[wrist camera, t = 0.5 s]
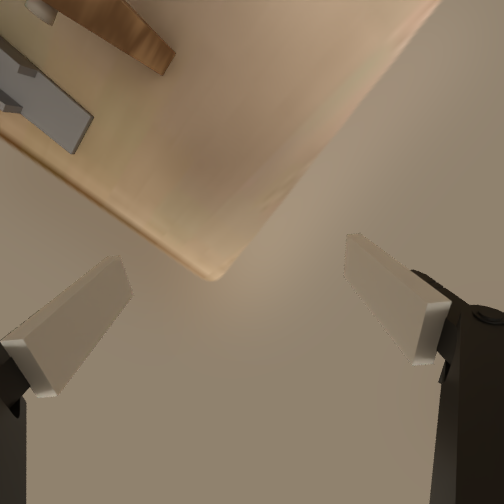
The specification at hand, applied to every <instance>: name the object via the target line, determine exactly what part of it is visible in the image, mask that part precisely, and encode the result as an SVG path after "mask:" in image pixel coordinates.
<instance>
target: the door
mask: <svg viewBox="0 0 504 504" xmlns="http://www.w3.org/2000/svg"><path fill="white" fill-rule="evenodd" d="M25 6H26V7H27V8H28V9H29V10H30V11H31V12H32V13H33V14H34V15H36V16H37V17H38V18H40V19H41V20H42V21H44V22H45V23H47V24H49V25H51V26H52V25H53V22H54V20H55V17H56V15H57V12H58V11H59V12H61V13H62V14H64V15H66V16H67V17H69V18H71V19H72V20H74V21H75V22H77V23H79V24H80V25H82V26H83V27H85V28H87V29H88V30H90V31H91V32H93V33H95V34H96V35H98V36H99V37H101V38H103V39H104V40H106V41H107V42H109V43H111V44H112V45H114V46H115V47H117V48H119V49H120V50H122V51H123V52H125V53H127V54H128V55H130V56H132V57H133V58H135V59H136V60H138V61H140V62H141V63H143V64H144V65H146V66H148V67H149V68H151V69H152V70H154V71H156V72H157V73H159V74H160V75H162V76H163V74H164V73H165V71H166V69H167V68H168V66H169V64H170V63H171V61H172V59H173V58H174V56H175V54H176V53H175V52H174V51H173V50H172V49H171V48H170V47H169V46H168V45H167V44H166V43H165V42H164V41H163V40H162V39H161V38H160V37H159V36H158V34H157V33H156V32H155V31H154V30H153V29H152V28H151V27H150V26H149V25H148V24H147V23H146V22H145V21H144V20H143V19H142V18H141V17H140V16H139V15H138V14H137V13H136V12H135V11H134V10H133V9H132V8H131V7H130V5H129V4H128V3H127V2H126V1H125V0H27V1H26V3H25Z"/></svg>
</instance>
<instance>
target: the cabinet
mask: <svg viewBox="0 0 504 504" xmlns="http://www.w3.org/2000/svg"><path fill="white" fill-rule="evenodd" d="M0 110H1V111H3V112H11V113H19V114H22V115H23V116H24V117H25V118H27V119H28V120H29V121H30V122H32V123H33V124H34V125H35V126H37V127H38V128H39V129H40V130H42V131H43V132H44V133H45V134H46V135H48V136H49V137H50V138H51V139H53V140H54V141H55V142H56V143H58V144H59V145H60V146H61V147H63V148H64V149H65V150H66V151H68V152H69V153H70V154H74V153H75V151H76V150H77V148H78V146H79V144H80V142H81V140H82V138H83V136H84V135H85V133H86V131H87V129H88V127H89V125H90V123H91V121H92V120H93V118H94V117H93V116H92V115H91V114H90V113H89V112H88V111H86V110H85V109H84V108H83V107H82V106H81V105H79V104H78V103H77V102H76V101H75V100H74V99H73V98H71V97H70V96H69V95H68V94H67V93H66V92H64V91H63V90H62V89H61V88H60V87H59V86H58V85H56V84H55V83H54V82H53V81H52V80H51V79H49V78H48V77H47V76H46V75H45V74H44V73H43V72H41V71H40V70H39V69H38V68H37V67H36V66H34V65H33V64H32V63H31V62H30V61H29V60H28V59H26V58H25V57H24V56H23V55H22V54H21V53H19V52H18V51H17V50H16V49H15V48H14V47H13V46H11V45H10V44H9V43H8V42H7V41H6V40H4V39H3V38H2V37H1V36H0Z"/></svg>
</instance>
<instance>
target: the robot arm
mask: <svg viewBox="0 0 504 504" xmlns="http://www.w3.org/2000/svg"><path fill="white" fill-rule="evenodd" d="M344 278H345V279H346V280H347V281H348V283H349V284H350V285H351V287H352V288H353V289H354V290H355V292H356V293H357V294H358V296H359V297H360V298H361V300H362V301H363V302H364V303H365V305H366V306H367V307H368V309H369V310H370V311H371V313H372V314H373V315H374V317H375V318H376V319H377V320H378V322H379V323H380V324H381V326H382V327H383V328H384V330H385V331H386V332H387V334H388V335H389V336H390V337H391V339H392V340H393V341H394V343H395V344H396V345H397V346H398V348H399V349H400V350H401V352H402V353H403V354H404V356H405V357H406V358H407V360H408V361H409V362H410V363H411V365H412V366H414V365H426V364H433V363H434V360H435V356H436V353H437V351H438V352H439V353H440V355H441V356H442V357H443V358H444V359H445V363H444V366H443V369H442V372H441V375H440V378H439V381H438V382H439V383H441V394H440V403H439V414H438V423H437V424H438V425H437V434H436V443H435V453H434V464H433V473H432V484H431V493H430V503H429V504H504V313H503V312H501V311H499V310H497V309H493V308H490V307H486V306H480V305H469V304H467V303H466V302H465V301H463V300H462V299H460V298H459V297H458V296H456V295H455V294H453V293H452V292H450V291H449V290H448V289H446V288H443V286H442V285H440V284H439V283H437V282H436V281H435V280H433V279H432V278H430V277H429V276H427V275H426V274H423V273H421V272H419V271H416V270H409V269H408V268H406V267H405V266H403V265H402V264H401V263H399V262H398V261H397V260H395V259H394V258H393V257H391V256H390V255H389V254H387V253H386V252H385V251H383V250H382V249H381V248H379V247H378V246H377V245H375V244H374V243H372V242H371V241H369V240H368V239H367V238H366V237H364V236H363V235H362V234H360V233H358V234H347V239H346V252H345V264H344ZM133 296H134V294H133V291H132V288H131V285H130V282H129V280H128V277H127V273H126V270H125V268H124V265H123V262H122V259H121V256H120V255H119V256H108V257H106V258H105V259H104V260H102V261H101V262H100V263H98V264H97V265H96V266H95V267H93V268H92V269H91V270H90V271H88V272H87V273H86V274H84V275H83V276H82V277H81V278H80V279H78V280H77V281H76V282H74V283H73V284H72V285H71V286H69V287H68V288H67V289H65V290H64V291H63V292H62V293H60V294H59V295H58V296H57V297H55V298H54V299H53V300H52V301H50V302H49V303H48V304H46V305H45V306H44V307H43V308H41V309H40V310H38V311H37V312H36V313H35V314H33V315H32V316H31V317H29V318H28V320H26V321H24V322H23V323H22V324H21V325H20V326H19V327H17V328H15V329H14V330H13V331H12V332H10V333H9V334H8V335H7V336H5V337H4V338H3V339H1V340H0V504H26V401H25V400H24V398H23V397H22V395H23V394H24V393H25V392H26V390H27V389H28V388H29V387H31V389H32V390H33V392H34V393H35V395H36V396H37V398H42V397H54V396H58V395H59V394H60V393H61V391H62V390H63V389H64V387H65V386H66V385H67V383H68V382H69V381H70V379H71V378H72V377H73V375H74V374H75V373H76V371H77V370H78V369H79V367H80V366H81V365H82V363H83V362H84V361H85V359H86V358H87V357H88V355H89V354H90V353H91V352H92V350H93V349H94V347H95V346H96V345H97V344H98V342H99V341H100V340H101V338H102V337H103V335H104V334H105V333H106V331H107V330H108V329H109V327H110V326H111V325H112V324H113V322H114V321H115V320H116V318H117V317H118V316H119V314H120V313H121V312H122V310H123V309H124V308H125V306H126V305H127V304H128V302H129V301H130V300H131V298H132V297H133Z"/></svg>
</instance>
